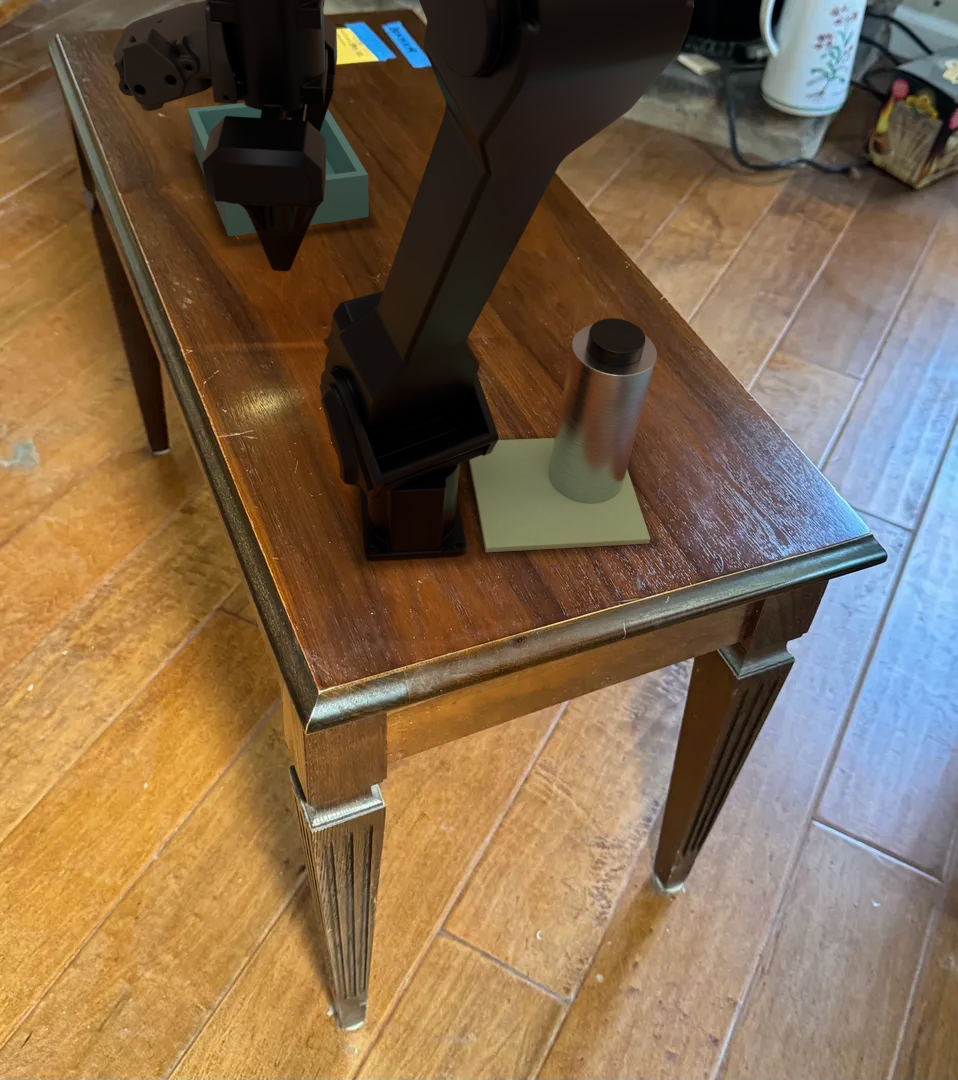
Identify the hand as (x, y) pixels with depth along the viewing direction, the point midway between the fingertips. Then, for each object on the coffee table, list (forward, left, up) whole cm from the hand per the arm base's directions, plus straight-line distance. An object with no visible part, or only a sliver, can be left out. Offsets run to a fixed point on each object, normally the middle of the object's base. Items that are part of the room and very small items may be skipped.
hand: (286, 228), depth 62 cm
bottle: (-12, -19, -12) cm, 26 cm away
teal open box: (+27, +2, -12) cm, 30 cm away
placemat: (-13, -17, -12) cm, 25 cm away
